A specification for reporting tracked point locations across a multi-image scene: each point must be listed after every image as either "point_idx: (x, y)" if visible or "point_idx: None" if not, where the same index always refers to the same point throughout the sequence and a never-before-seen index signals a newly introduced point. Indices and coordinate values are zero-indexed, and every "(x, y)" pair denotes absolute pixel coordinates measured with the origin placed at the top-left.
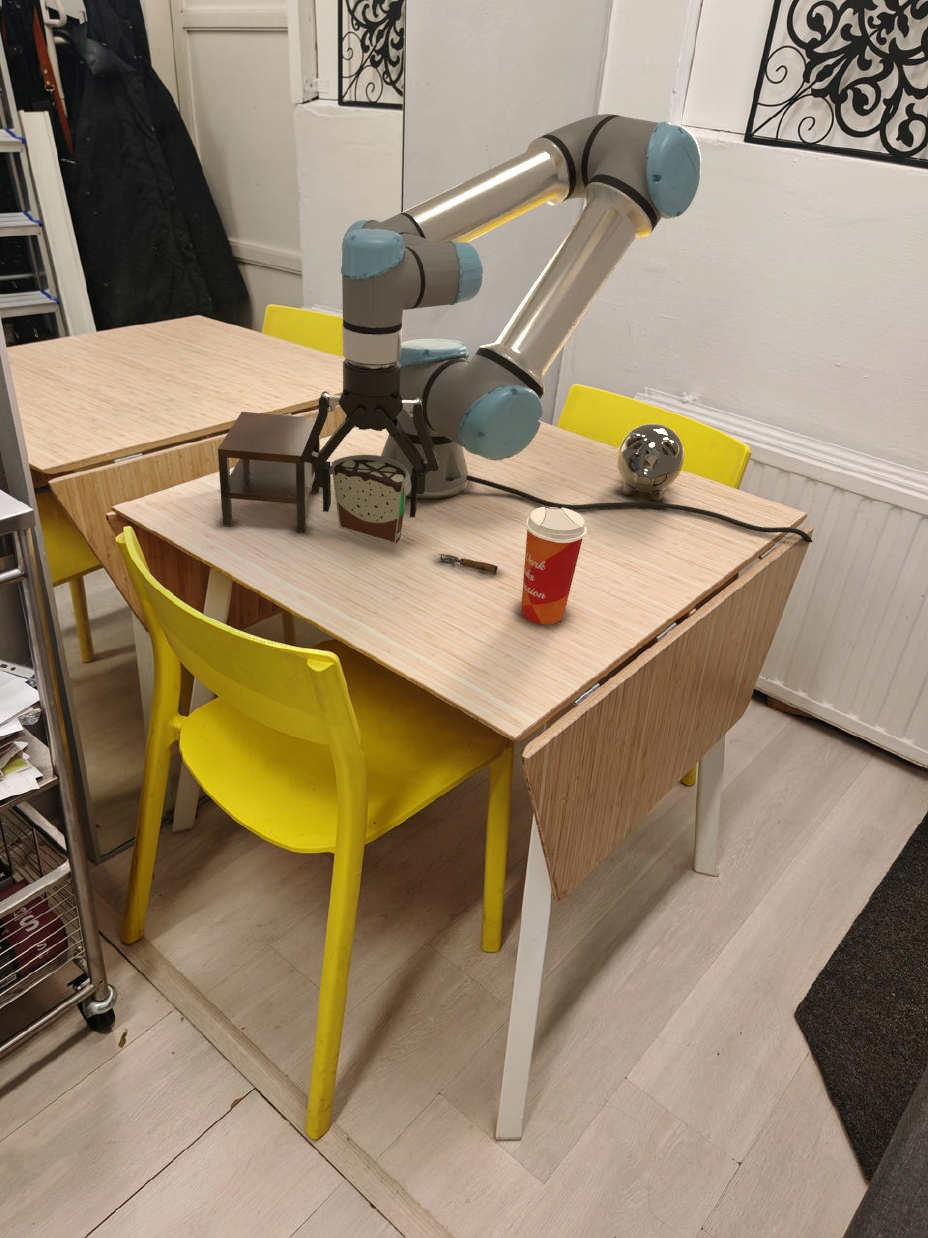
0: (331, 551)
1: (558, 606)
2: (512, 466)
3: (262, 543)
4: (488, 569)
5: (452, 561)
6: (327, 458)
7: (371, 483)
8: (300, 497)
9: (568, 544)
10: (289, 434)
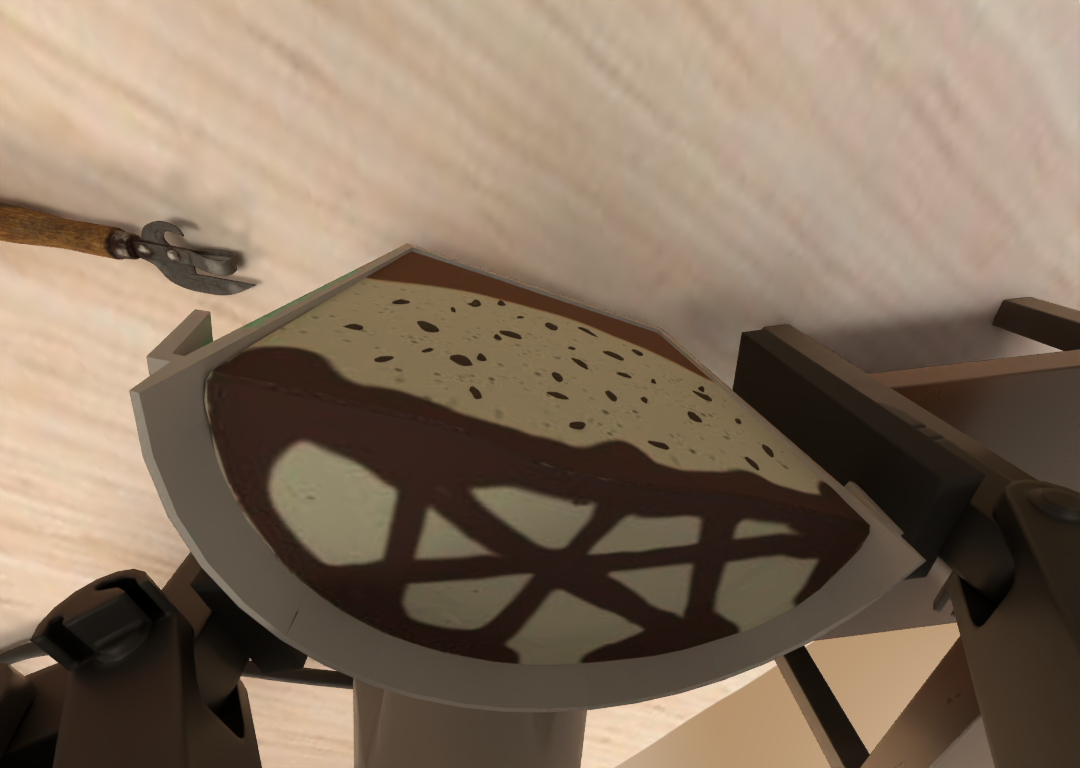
0: (665, 219)
1: None
2: (302, 734)
3: (918, 210)
4: None
5: (158, 227)
6: (1050, 565)
7: (561, 422)
8: (877, 391)
9: None
10: None
